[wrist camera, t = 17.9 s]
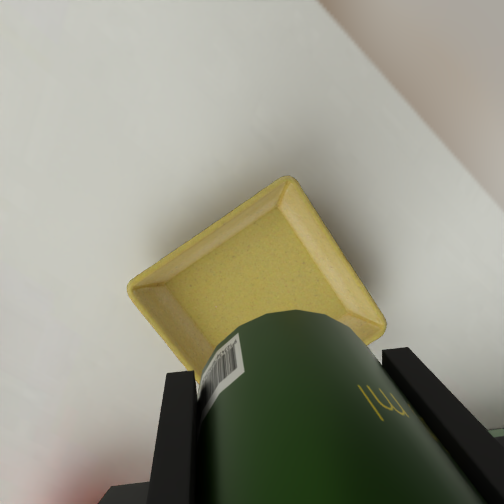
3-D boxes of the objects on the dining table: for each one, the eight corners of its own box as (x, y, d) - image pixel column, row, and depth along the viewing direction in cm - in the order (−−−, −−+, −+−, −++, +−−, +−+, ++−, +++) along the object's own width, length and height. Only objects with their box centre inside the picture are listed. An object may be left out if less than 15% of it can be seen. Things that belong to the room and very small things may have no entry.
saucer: (127, 273, 22) (119, 287, 20) (283, 167, 22) (291, 170, 20) (232, 407, 24) (235, 432, 22) (376, 313, 24) (392, 330, 22)
